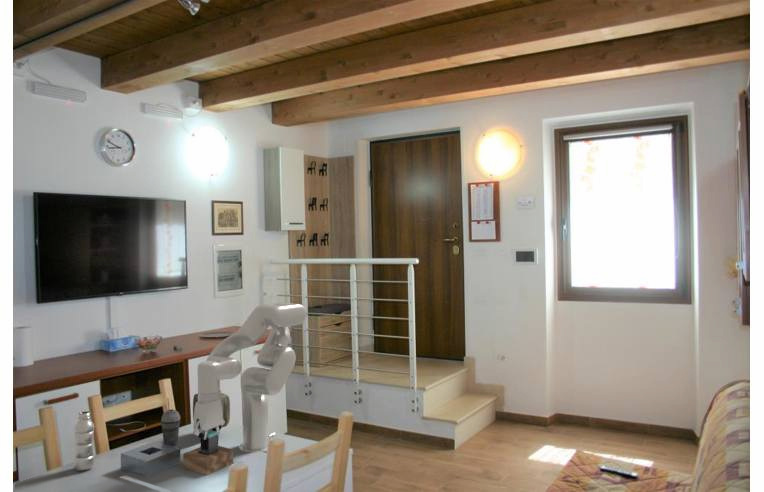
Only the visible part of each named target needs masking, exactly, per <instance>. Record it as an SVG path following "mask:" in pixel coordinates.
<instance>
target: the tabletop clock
mask: <svg viewBox="0 0 764 492" xmlns="http://www.w3.org/2000/svg"><path fill="white" fill-rule="evenodd" d="M220 398H221V402H222V408H223V419H224V421H225V423H224V425H223V426H222V428H225V427H227V426H228V425H229V423H230V420H231V400H230V396H228V395H227V394H226V393H223V392H221V393H220ZM192 402H193V403H192V420H193V422H194V411H195V405H196V402H198V393H195V394H194V395H193V401H192ZM210 430H211V429H210ZM199 431H200V429H199Z"/></svg>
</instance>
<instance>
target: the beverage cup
mask: <svg viewBox="0 0 764 492" xmlns="http://www.w3.org/2000/svg"><path fill="white" fill-rule="evenodd" d="M166 399H167V410H166V411H164V413H163V414H162V416H161V418H160V419H161V420H160V424H161V429H162V430H161V431H162V441H163V442H162V443H163V444H166V445H170V446H173V447H177V448H178V443H179V434H180V433H179V430H180V425H181V420H182V419H181V415H180V413H179V411H177V410H175V409H171V408H170V407H171V406H170V398H169V397H168V398H166Z"/></svg>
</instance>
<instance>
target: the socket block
mask: <svg viewBox="0 0 764 492" xmlns="http://www.w3.org/2000/svg"><path fill="white" fill-rule="evenodd" d="M180 463H181V448H180V447H178V446H177V447H173V446H170V445H166V444H164V443H163V442H158V441H151V442H148V443H147V444H143V445H141V446H138V447H135V448H132V449H129V450H126V451H123V452H121V453H120V471H121V472H124V473H128V472H133V473H136V474H139V475H142V476H145V477H149V476H150V475H154V474H156V473H158V472H161V471H163V470H166V469H168V468H170V467H172V466H175V465H177V464H180Z"/></svg>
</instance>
